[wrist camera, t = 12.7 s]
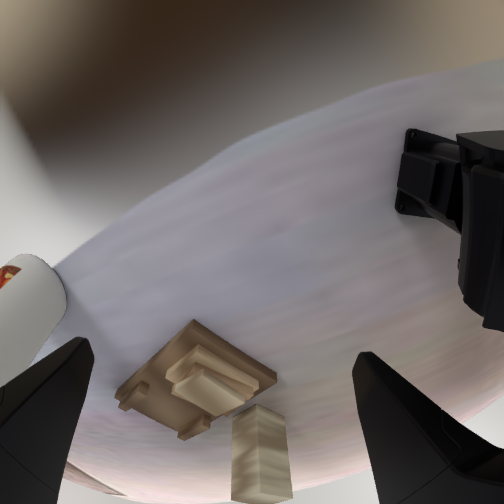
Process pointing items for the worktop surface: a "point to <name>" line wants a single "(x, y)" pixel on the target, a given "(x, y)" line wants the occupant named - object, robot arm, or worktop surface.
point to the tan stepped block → (194, 382)
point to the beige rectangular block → (260, 458)
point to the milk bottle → (27, 311)
